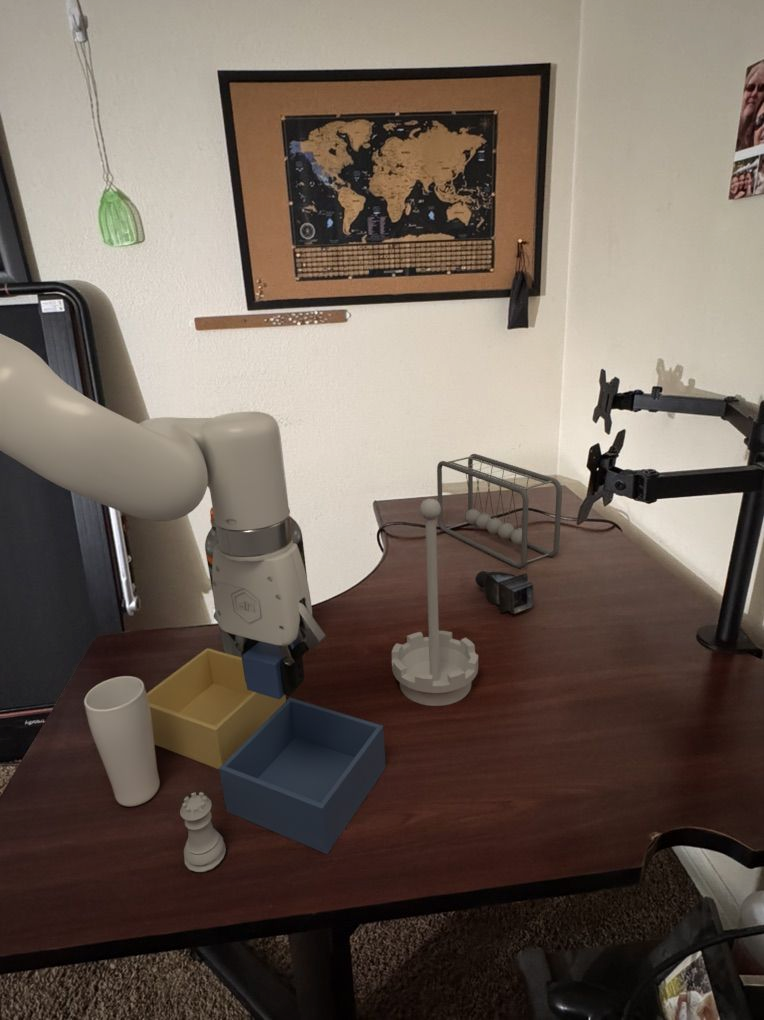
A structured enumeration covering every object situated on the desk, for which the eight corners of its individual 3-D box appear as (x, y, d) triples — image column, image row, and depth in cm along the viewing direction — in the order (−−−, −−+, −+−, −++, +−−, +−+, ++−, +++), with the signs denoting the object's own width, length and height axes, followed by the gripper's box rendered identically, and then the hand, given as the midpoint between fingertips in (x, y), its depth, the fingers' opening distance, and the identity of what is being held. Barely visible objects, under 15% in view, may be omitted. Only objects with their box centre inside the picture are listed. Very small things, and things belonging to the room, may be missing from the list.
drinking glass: (139, 766, 83) (116, 670, 78) (178, 781, 80) (157, 682, 75) (97, 803, 77) (69, 702, 72) (137, 821, 74) (111, 717, 69)
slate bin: (327, 854, 69) (322, 808, 66) (226, 811, 75) (218, 768, 73) (386, 767, 80) (383, 725, 78) (294, 736, 87) (289, 697, 84)
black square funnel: (491, 583, 126) (491, 554, 124) (537, 610, 115) (538, 578, 113) (465, 592, 123) (465, 562, 121) (510, 620, 112) (511, 588, 110)
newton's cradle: (559, 559, 135) (563, 480, 129) (523, 572, 130) (526, 491, 124) (470, 519, 159) (470, 451, 153) (437, 529, 154) (435, 459, 148)
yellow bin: (223, 771, 81) (215, 729, 79) (144, 740, 88) (135, 701, 85) (287, 706, 93) (282, 668, 91) (213, 683, 99) (207, 647, 97)
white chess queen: (176, 862, 69) (163, 806, 66) (208, 833, 72) (197, 779, 69) (203, 882, 66) (191, 824, 64) (235, 851, 70) (225, 795, 67)
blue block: (279, 700, 68) (274, 664, 67) (247, 689, 70) (241, 655, 69) (302, 677, 72) (298, 643, 70) (271, 668, 74) (266, 635, 72)
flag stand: (486, 706, 91) (488, 512, 80) (396, 714, 90) (386, 519, 80) (468, 655, 103) (468, 481, 92) (389, 662, 102) (379, 487, 92)
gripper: (167, 536, 65) (195, 683, 72) (302, 561, 58) (320, 722, 64) (216, 512, 72) (238, 649, 78) (343, 531, 64) (356, 681, 70)
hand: (274, 681), depth 71 cm, fingers closed on blue block, 4 cm apart
